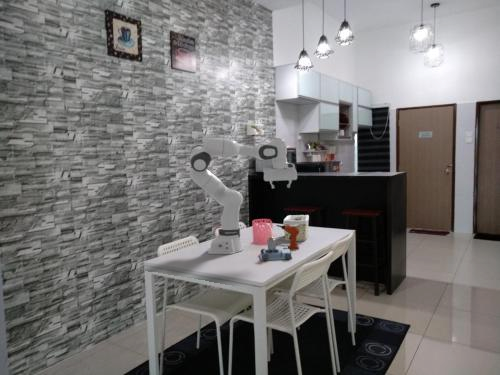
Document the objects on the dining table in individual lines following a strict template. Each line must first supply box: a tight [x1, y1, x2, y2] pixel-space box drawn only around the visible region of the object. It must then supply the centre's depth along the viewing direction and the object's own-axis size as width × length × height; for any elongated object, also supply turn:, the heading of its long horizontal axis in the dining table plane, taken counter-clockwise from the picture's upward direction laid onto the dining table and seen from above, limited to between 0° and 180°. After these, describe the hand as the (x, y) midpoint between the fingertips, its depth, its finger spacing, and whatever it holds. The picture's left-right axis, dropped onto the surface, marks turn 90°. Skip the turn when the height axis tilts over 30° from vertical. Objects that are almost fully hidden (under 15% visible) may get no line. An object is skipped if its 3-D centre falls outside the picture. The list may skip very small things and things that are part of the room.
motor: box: [267, 236, 277, 253], centre depth 225 cm, size 5×5×11 cm
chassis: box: [259, 247, 293, 262], centre depth 225 cm, size 18×14×4 cm
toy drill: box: [276, 224, 300, 251], centre depth 246 cm, size 5×19×15 cm, turn 44°
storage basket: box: [283, 214, 310, 242], centre depth 273 cm, size 24×16×15 cm
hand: (280, 187), depth 235 cm, fingers open, 8 cm apart
